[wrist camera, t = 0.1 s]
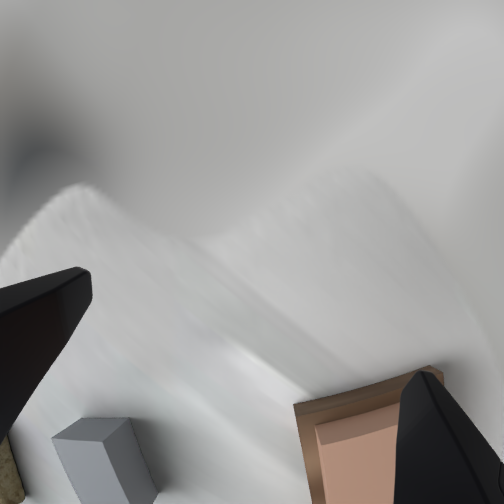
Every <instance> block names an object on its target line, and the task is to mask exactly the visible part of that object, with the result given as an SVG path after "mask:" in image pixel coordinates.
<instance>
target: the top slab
mask: <svg viewBox="0 0 504 504" xmlns="http://www.w3.org/2000/svg"><path fill="white" fill-rule="evenodd" d="M399 407H400V402H399V403H396V404H393V405H390V406H387V407H383V408H380V409H377V410H374V411H370V412H367V413H363V414H359V415H356V416H352V417H348V418H344V419H340V420H336V421H332V422H328V423H324V424H319V425H315V431H316V438H317V444H318V451H319V457H320V464H321V471H322V478H323V485H324V492H325V500H326V504H393V500H394V484H395V458H396V438H397V428H398V418H399Z"/></svg>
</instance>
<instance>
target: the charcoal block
mask: <svg viewBox="0 0 504 504" xmlns="http://www.w3.org/2000/svg"><path fill="white" fill-rule="evenodd" d="M51 439H52V442H53V444H54V447H55V449H56V452H57V454H58V456H59V459H60V461H61V463H62V465H63V468H64V470H65V472H66V474H67V476H68V478H69V480H70V482H71V484H72V486H73V488H74V490H75V492H76V494H77V496H78V498H79V500H80V502H81V503H82V504H153V502H154V500H155V498H156V497H157V495H158V492H157V489H156V487H155V485H154V482H153V480H152V478H151V475H150V473H149V470H148V468H147V465H146V463H145V460H144V458H143V455H142V453H141V450H140V447H139V445H138V442H137V439H136V436H135V433H134V431H133V428H132V425H131V422H130V419H129V418H81V419H79V420H78V421H76V422H75V423H73V424H72V425H70V426H69V427H67V428H66V429H64V430H63V431H61V432H60V433H58V434H57V435H55V436H54V437H52V438H51Z"/></svg>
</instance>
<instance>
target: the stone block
mask: <svg viewBox="0 0 504 504" xmlns="http://www.w3.org/2000/svg"><path fill="white" fill-rule="evenodd" d="M24 499H25V493H24V489H23V487H22V482H21V479H20V476H19V474H18V471H17V467H16V464H15V462H14V459H13V455H12V452H11V450H10V445H9V441H8V438H7V435H6V437H5V439H4V440H3V442H2V444H1V445H0V504H19V503H21V502H23V501H24Z"/></svg>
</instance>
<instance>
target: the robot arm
mask: <svg viewBox="0 0 504 504" xmlns="http://www.w3.org/2000/svg"><path fill="white" fill-rule="evenodd" d="M92 296H93V294H92V281H91V274H90V272H89V271H88V270H86V269H83V268H81V267H73V268H70V269H66V270H62V271H59V272H55V273H52V274H48V275H45V276H41V277H38V278H34V279H31V280H27V281H24V282H20V283H17V284H14V285H10V286H7V287H4V288H0V445H1V444H2V442H3V440H4V439H5V437H6V435H7V433H8V432H9V430H10V428H11V427H12V425H13V424H14V422H15V420H16V419H17V417H18V415H19V414H20V412H21V411H22V409H23V408H24V406H25V404H26V403H27V401H28V400H29V398H30V397H31V395H32V394H33V392H34V391H35V389H36V388H37V386H38V385H39V383H40V382H41V380H42V379H43V377H44V376H45V374H46V373H47V371H48V370H49V368H50V367H51V366H52V364H53V363H54V361H55V360H56V358H57V357H58V356H59V354H60V353H61V351H62V350H63V348H64V347H65V346H66V344H67V342H68V341H69V339H70V337H71V336H72V334H73V332H74V331H75V329H76V327H77V325H78V324H79V322H80V320H81V319H82V317H83V315H84V314H85V312H86V310H87V309H88V307H89V305H90V303H91V301H92ZM500 461H501V460H500V458H499V457H498V455H497V454H496V453H495V451H494V450H493V449H492V447H491V446H490V445H489V443H488V442H487V441H486V439H485V438H484V437H483V435H482V434H481V433H480V431H479V430H478V429H477V428H476V426H475V425H474V424H473V422H472V421H471V420H470V418H469V417H468V416H467V415H466V413H465V412H464V411H463V410H462V408H461V407H460V406H459V405H458V403H457V402H456V401H455V400H454V398H453V397H452V396H451V395H450V393H449V392H448V391H447V390H446V388H445V387H444V386H443V385H442V383H441V382H440V381H439V380H438V379H437V377H436V376H435V375H434V374H433V373H432V372H430V371H425V370H418V371H417V372H416V373H415V374H414V375H413V376H412V378H411V379H410V380H409V382H408V383H407V384H406V386H405V387H404V388H403V390H402V392H401V396H400V407H399V418H398V428H397V438H396V458H395V484H394V500H393V504H504V464H503V462H500Z"/></svg>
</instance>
